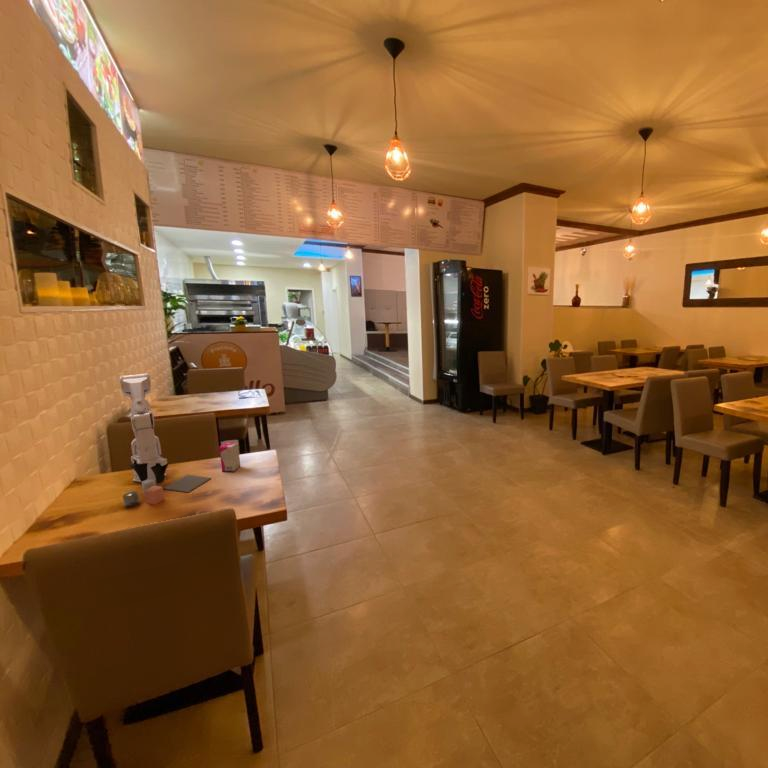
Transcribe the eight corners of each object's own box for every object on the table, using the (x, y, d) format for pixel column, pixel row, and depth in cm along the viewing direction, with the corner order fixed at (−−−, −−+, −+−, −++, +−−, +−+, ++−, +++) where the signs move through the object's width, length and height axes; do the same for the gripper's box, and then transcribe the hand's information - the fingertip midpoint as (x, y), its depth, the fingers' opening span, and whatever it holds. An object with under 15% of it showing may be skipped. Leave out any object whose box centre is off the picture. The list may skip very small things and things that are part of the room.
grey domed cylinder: (140, 495, 138) (138, 483, 137) (151, 489, 142) (149, 478, 141) (149, 497, 137) (147, 484, 136) (159, 491, 141) (158, 479, 140)
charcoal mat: (163, 488, 142) (163, 488, 142) (187, 475, 154) (187, 474, 154) (188, 492, 139) (187, 491, 139) (210, 478, 150) (210, 477, 150)
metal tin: (121, 506, 130) (119, 496, 129) (133, 500, 134) (131, 490, 133) (130, 508, 129) (129, 498, 128) (142, 502, 133) (140, 492, 132)
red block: (146, 503, 132) (144, 490, 131) (156, 497, 136) (154, 485, 135) (155, 504, 131) (153, 492, 130) (164, 499, 135) (162, 486, 134)
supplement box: (240, 466, 162) (238, 442, 159) (234, 472, 156) (231, 447, 154) (228, 466, 162) (225, 441, 160) (221, 472, 156) (218, 447, 154)
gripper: (120, 448, 127) (126, 484, 130) (152, 452, 123) (158, 489, 126) (138, 441, 134) (144, 475, 137) (169, 444, 130) (175, 479, 133)
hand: (152, 481), depth 132 cm, fingers open, 7 cm apart
